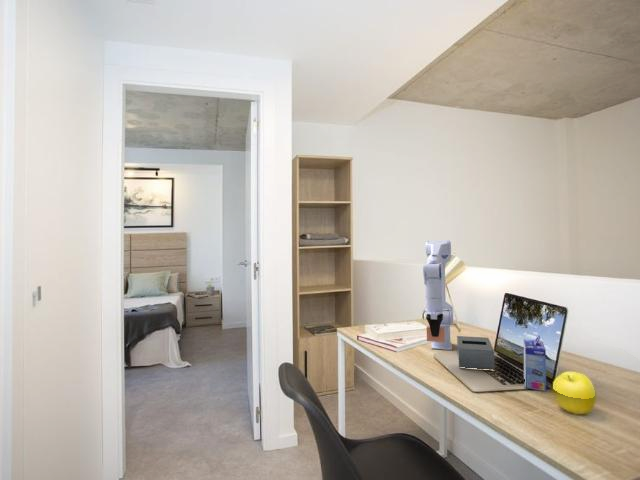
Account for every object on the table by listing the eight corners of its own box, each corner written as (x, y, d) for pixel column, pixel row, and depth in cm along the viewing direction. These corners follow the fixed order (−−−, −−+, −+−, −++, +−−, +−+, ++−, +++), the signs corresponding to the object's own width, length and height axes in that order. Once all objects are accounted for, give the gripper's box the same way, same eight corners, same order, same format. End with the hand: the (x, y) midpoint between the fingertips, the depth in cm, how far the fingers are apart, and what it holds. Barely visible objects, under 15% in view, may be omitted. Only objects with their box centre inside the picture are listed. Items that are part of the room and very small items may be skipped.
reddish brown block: (427, 339, 127) (426, 325, 127) (444, 340, 124) (444, 326, 125) (426, 341, 124) (426, 327, 124) (444, 342, 122) (444, 328, 122)
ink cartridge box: (547, 392, 99) (545, 341, 100) (525, 389, 102) (523, 339, 102) (544, 379, 108) (542, 333, 108) (523, 377, 111) (521, 331, 111)
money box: (457, 354, 135) (457, 335, 135) (489, 356, 131) (488, 337, 131) (459, 368, 120) (458, 348, 120) (494, 371, 116) (494, 350, 116)
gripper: (423, 294, 133) (424, 329, 133) (421, 300, 119) (422, 340, 119) (443, 294, 130) (444, 330, 130) (442, 300, 117) (444, 341, 117)
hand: (435, 335), depth 124 cm, fingers closed on reddish brown block, 2 cm apart
